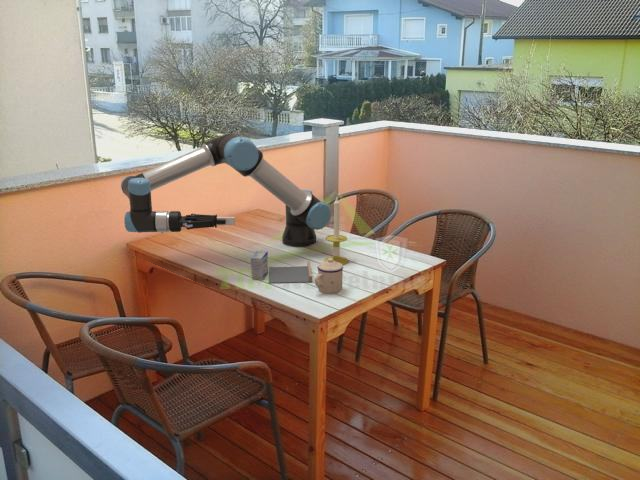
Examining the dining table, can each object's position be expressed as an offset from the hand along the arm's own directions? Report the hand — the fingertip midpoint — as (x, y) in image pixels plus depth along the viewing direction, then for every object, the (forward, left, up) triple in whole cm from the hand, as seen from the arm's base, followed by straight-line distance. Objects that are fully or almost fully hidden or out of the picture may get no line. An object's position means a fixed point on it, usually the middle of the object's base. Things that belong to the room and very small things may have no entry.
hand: (235, 220), depth 216 cm
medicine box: (-8, 0, -22) cm, 24 cm away
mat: (-20, 0, -22) cm, 29 cm away
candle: (-39, -14, -22) cm, 47 cm away
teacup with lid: (-33, +16, -22) cm, 43 cm away
